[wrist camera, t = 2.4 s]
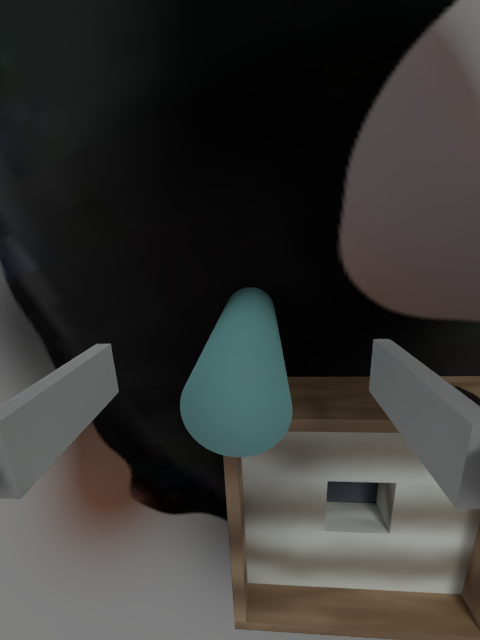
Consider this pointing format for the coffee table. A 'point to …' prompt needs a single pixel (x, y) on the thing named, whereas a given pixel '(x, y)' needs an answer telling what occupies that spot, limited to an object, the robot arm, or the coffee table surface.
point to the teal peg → (240, 381)
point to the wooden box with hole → (349, 527)
